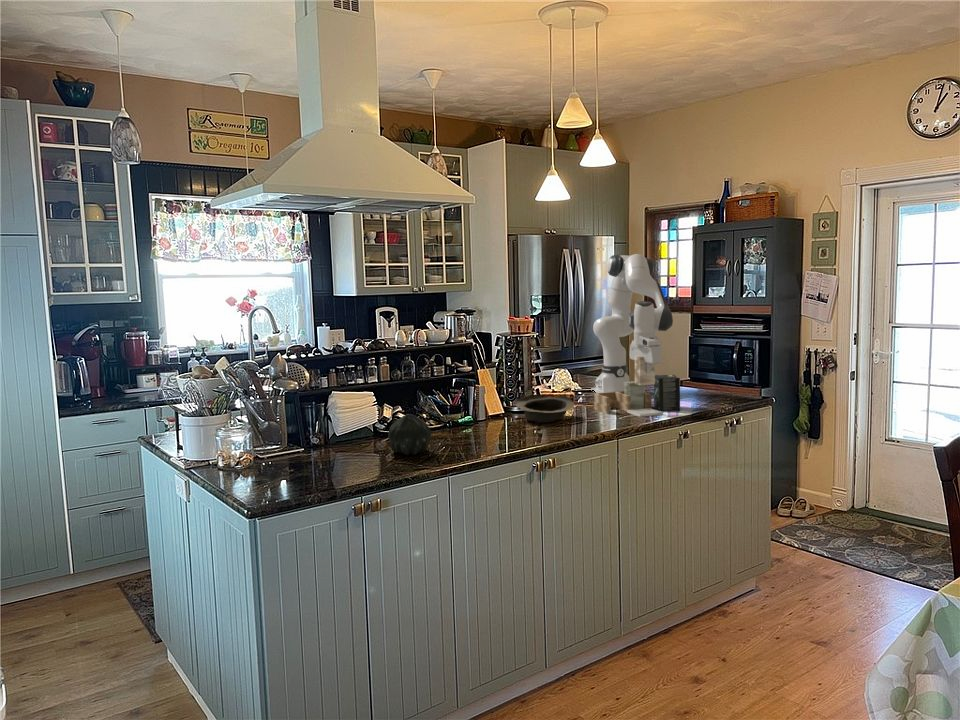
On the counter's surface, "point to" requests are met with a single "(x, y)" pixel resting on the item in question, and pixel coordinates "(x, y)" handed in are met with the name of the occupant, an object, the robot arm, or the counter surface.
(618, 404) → the shelf
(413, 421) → the squash
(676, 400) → the tampon box
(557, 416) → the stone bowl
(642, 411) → the tile
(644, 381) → the block
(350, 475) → the counter surface
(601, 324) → the robot arm
